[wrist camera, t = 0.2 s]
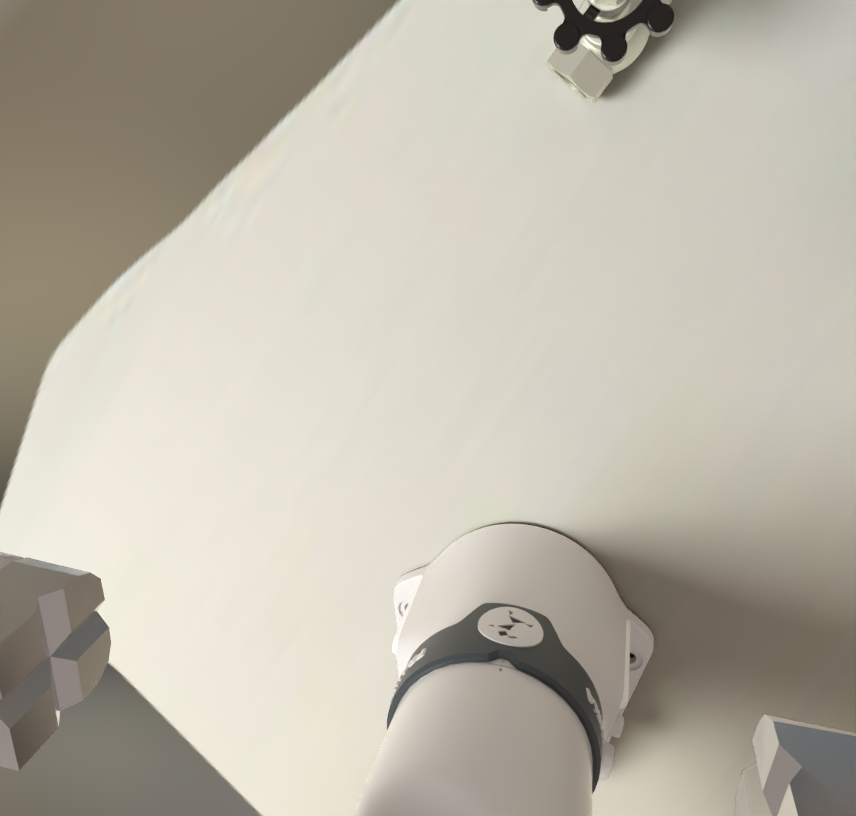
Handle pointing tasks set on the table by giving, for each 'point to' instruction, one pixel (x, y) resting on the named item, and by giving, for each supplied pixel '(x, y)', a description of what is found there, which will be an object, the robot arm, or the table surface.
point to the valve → (602, 39)
